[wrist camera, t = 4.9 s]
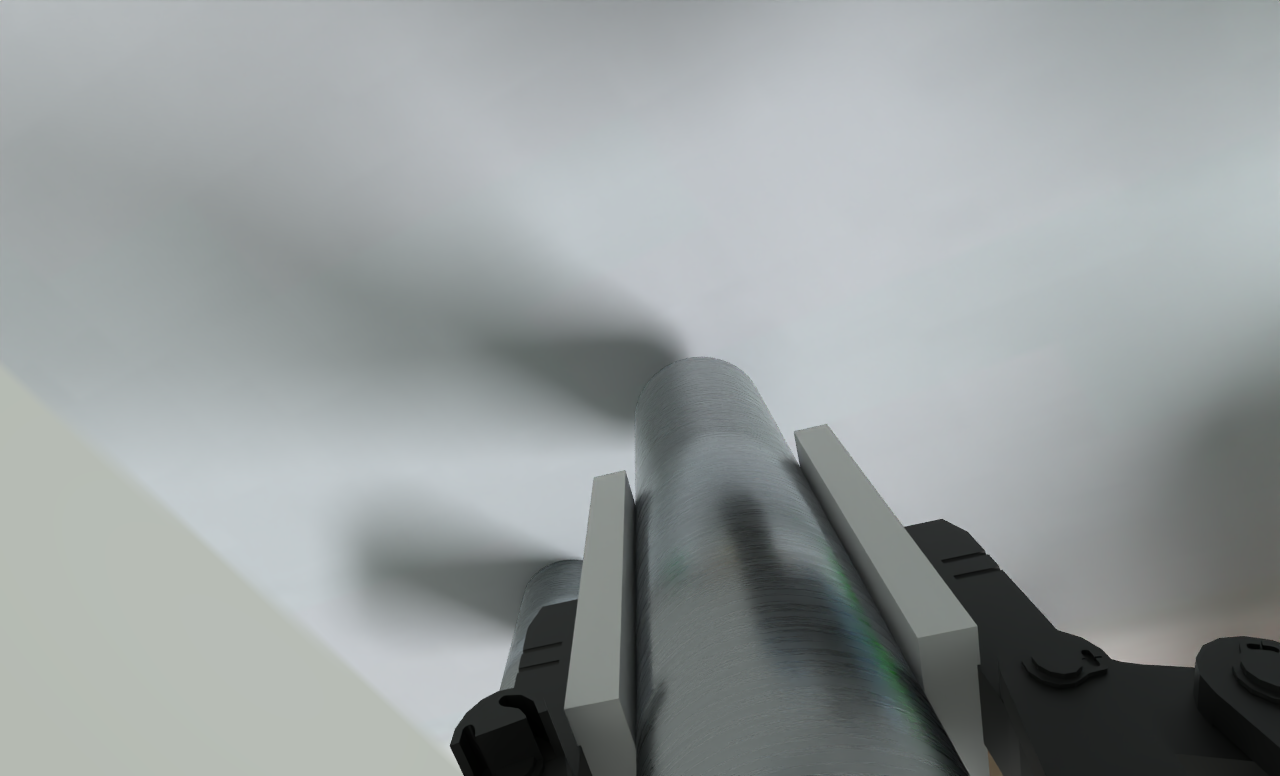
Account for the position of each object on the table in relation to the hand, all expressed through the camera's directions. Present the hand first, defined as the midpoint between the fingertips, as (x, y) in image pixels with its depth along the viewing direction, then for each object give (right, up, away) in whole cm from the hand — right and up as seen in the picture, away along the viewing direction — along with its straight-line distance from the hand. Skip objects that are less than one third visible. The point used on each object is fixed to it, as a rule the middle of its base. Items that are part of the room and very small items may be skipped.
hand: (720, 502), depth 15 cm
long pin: (0, +2, +5) cm, 5 cm away
